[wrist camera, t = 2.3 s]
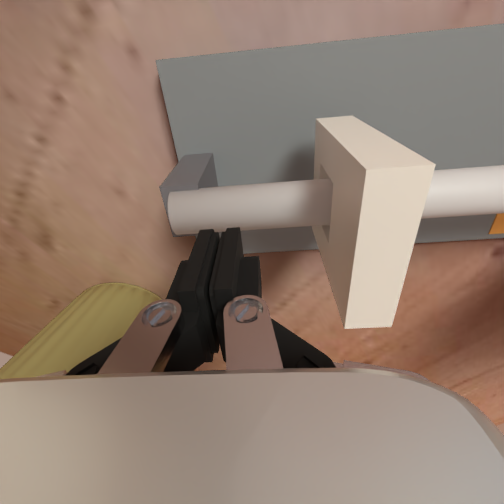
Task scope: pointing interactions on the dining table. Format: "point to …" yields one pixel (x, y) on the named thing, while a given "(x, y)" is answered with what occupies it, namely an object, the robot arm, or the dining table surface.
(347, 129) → the collar
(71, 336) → the potted cactus
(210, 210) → the pipe rig
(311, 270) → the dining table surface
